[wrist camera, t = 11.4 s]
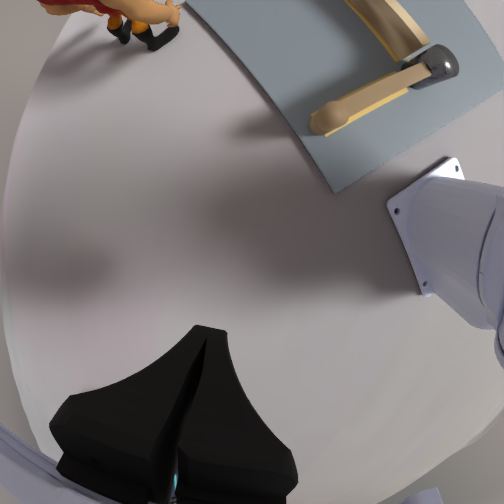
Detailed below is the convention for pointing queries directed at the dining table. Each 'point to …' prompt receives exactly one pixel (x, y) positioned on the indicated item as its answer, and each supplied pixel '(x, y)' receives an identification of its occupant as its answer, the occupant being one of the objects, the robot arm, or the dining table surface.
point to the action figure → (134, 9)
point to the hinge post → (434, 65)
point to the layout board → (354, 72)
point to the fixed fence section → (364, 99)
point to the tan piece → (393, 25)
